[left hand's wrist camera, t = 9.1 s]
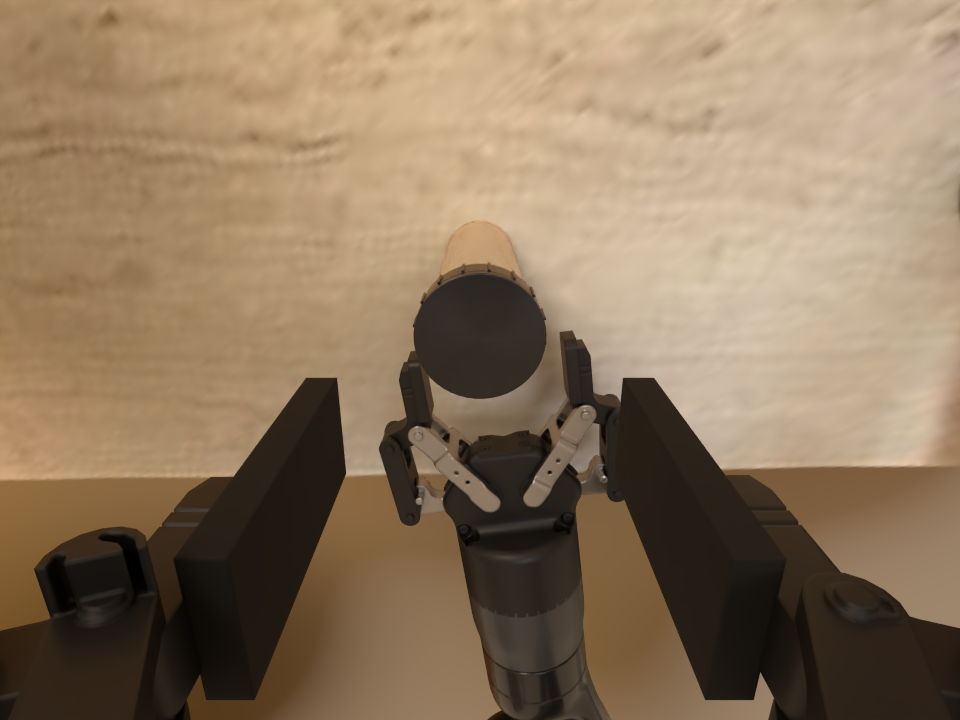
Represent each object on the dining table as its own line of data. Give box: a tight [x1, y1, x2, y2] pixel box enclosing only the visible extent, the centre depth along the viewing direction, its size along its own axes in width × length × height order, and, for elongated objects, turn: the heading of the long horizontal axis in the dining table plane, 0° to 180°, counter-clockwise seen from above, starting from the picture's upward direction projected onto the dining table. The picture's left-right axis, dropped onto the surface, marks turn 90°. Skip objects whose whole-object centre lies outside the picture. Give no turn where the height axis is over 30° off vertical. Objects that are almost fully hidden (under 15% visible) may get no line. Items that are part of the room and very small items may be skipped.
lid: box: [413, 262, 546, 399], centre depth 22 cm, size 5×5×2 cm
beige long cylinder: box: [438, 221, 522, 279], centre depth 29 cm, size 4×4×16 cm
